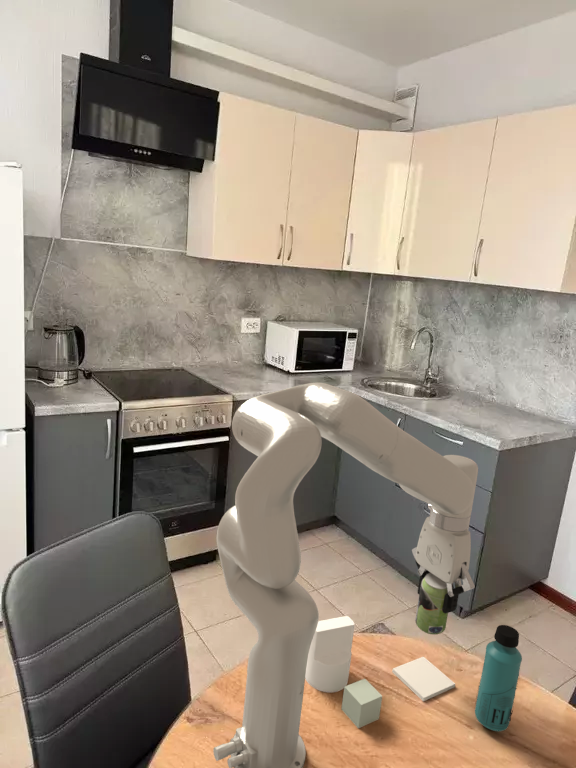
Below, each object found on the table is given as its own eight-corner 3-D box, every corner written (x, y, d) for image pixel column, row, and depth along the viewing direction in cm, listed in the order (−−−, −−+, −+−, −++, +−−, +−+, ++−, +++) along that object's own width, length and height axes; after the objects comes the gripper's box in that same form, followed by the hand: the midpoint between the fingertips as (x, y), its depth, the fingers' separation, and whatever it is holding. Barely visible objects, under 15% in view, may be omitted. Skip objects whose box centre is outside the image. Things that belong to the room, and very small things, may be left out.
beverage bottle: (485, 741, 101) (504, 644, 97) (465, 713, 107) (482, 620, 103) (516, 736, 102) (536, 640, 99) (494, 709, 109) (511, 617, 105)
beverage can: (441, 621, 117) (449, 568, 114) (449, 643, 109) (457, 587, 107) (411, 617, 117) (418, 565, 115) (417, 639, 110) (425, 583, 108)
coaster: (423, 701, 109) (423, 697, 109) (392, 671, 116) (392, 668, 116) (454, 687, 114) (455, 683, 114) (422, 659, 121) (423, 656, 121)
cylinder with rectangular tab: (316, 696, 107) (323, 641, 105) (296, 665, 115) (302, 614, 113) (356, 686, 111) (363, 633, 109) (334, 657, 119) (341, 607, 117)
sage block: (358, 728, 101) (361, 705, 100) (341, 709, 105) (344, 686, 104) (378, 719, 103) (382, 695, 103) (361, 700, 108) (364, 678, 107)
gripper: (404, 504, 113) (392, 584, 117) (471, 542, 99) (456, 631, 103) (430, 499, 117) (418, 576, 121) (498, 535, 103) (483, 621, 107)
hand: (436, 601), depth 112 cm, fingers closed on beverage can, 6 cm apart
